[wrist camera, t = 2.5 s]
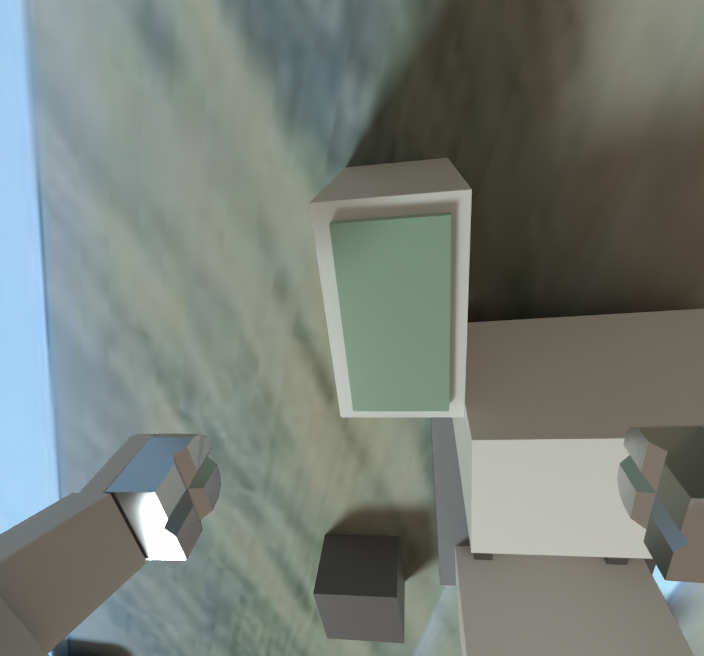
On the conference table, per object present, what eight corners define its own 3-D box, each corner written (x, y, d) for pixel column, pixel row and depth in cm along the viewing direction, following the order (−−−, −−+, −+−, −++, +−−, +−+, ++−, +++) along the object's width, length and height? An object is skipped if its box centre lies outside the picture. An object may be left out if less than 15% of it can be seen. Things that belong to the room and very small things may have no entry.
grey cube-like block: (325, 532, 28) (313, 593, 24) (398, 534, 27) (396, 597, 24) (336, 576, 30) (327, 638, 27) (404, 579, 29) (404, 643, 26)
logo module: (346, 167, 16) (306, 205, 10) (447, 157, 16) (473, 191, 9) (362, 321, 20) (339, 423, 13) (446, 317, 19) (465, 423, 13)
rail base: (424, 309, 19) (435, 440, 12) (718, 290, 17) (960, 434, 9) (439, 570, 28) (450, 737, 21) (630, 578, 26) (718, 766, 19)
